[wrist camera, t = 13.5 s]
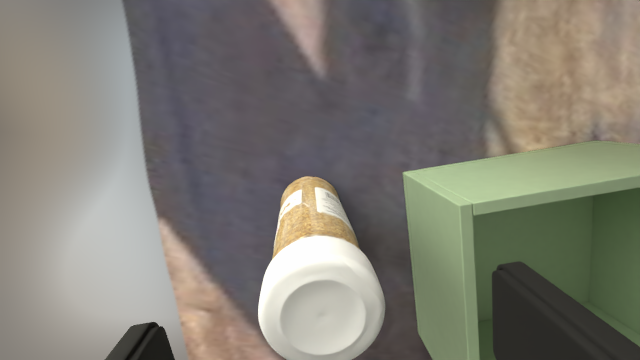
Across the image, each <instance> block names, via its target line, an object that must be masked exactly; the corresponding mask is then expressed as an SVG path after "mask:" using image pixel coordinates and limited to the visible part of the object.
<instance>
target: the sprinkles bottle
mask: <svg viewBox="0 0 640 360" xmlns="http://www.w3.org/2000/svg"><path fill="white" fill-rule="evenodd" d="M384 314H385V300H384V295H383V292H382V289H381V286H380V283H379V281H378V278H377V276H376V273H375V271H374V269H373V267H372V265H371V263H370V261H369V260H368V258H367V257H366V256H365V254H364V253H363V252H362V251H361V250H360V248H359V246H358V242H357V239H356V236H355V234H354V231H353V229H352V227H351V225H350V222H349V220H348V218H347V216H346V213H345V211H344V209H343V207H342V205H341V203H340V201H339V197H338V194H337V192H336V190H335V189H334V187H333V186H332V185H331V184H329V183H328V182H327V181H325V180H323V179H320V178H318V177H303V178H300V179H298V180H296V181H294V182H293V183H292V184H290V185H289V186H288V187H287V188H286V190H285V192H284V194H283V196H282V199H281V210H280V214H279V220H278V227H277V232H276V238H275V243H274V254H273V260H272V261H271V263H270V264H269V266H268V268H267V270H266V273H265V275H264V279H263V284H262V288H261V293H260V299H259V307H258V318H259V323H260V328H261V330H262V332H263V335H264V337H265V338H266V340H267V342H268V343H269V345H270V346H271V347H272V348H273V349H274V350H275V351H276V352H277V353H278V354H279V355H281V356H282V357H284V358H285V359H287V360H352V359H354V358H355V357H357V356H358V355H360V354H361V353H363V352H364V351H365V350H366V349H367V348H368V347H369V346H370V345H371V344H372V343H373V341H374V340H375V338H376V337H377V335H378V333H379V331H380V329H381V327H382V324H383V320H384Z"/></svg>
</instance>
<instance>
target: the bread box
mask: <svg viewBox="0 0 640 360" xmlns="http://www.w3.org/2000/svg"><path fill="white" fill-rule="evenodd" d="M403 181H404V192H405V202H406V212H407V223H408V233H409V243H410V253H411V264H412V274H413V284H414V294H415V305H416V315H417V325H418V333H419V335H420V337H421V339H422V341H423V343H424V344H425V346H426V348H427V350H428V352H429V354H430V356H431V358H432V359H433V360H496V358H495V355H494V352H493V319H492V273H493V271H496V269H497V266H498V265H500V264H505V263H511V262H517V261H520V262H523V263H525V264H526V265H527V266H529V267H530V268H532V269H533V270H534V271H536V272H537V273H538V274H540V275H541V276H543V277H544V278H545V279H547V280H548V281H550V282H551V283H552V284H554V285H555V286H556V287H558V288H559V289H561V290H562V291H563V292H565V293H566V294H567V295H569V296H570V297H572V298H573V299H574V300H576V301H577V302H579V303H580V304H581V305H583V306H584V307H585V308H587V309H588V310H590V311H591V312H592V313H594V314H595V315H597V316H598V317H599V318H601V319H602V320H603V321H605V322H606V323H608V324H609V325H610V326H612V327H613V328H614V329H616V330H617V331H619V332H620V333H621V334H623V335H624V336H626V337H627V338H628V339H630V340H631V341H632V342H634V343H635V344H637V345H638V346H639V347H640V144H632V143H621V142H610V141H598V140H595V141H588V142H582V143H576V144H570V145H564V146H558V147H552V148H546V149H540V150H534V151H528V152H522V153H516V154H510V155H504V156H498V157H492V158H486V159H480V160H474V161H468V162H462V163H456V164H450V165H444V166H438V167H431V168H425V169H419V170H413V171H407V172H403Z"/></svg>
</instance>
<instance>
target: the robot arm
mask: <svg viewBox="0 0 640 360" xmlns="http://www.w3.org/2000/svg"><path fill="white" fill-rule="evenodd" d="M492 319H493V352H494V355H495V358H496V360H640V347H639V346H638V345H637V344H635V343H634V342H632V341H631V340H630V339H628V338H627V337H626V336H624V335H623V334H621V333H620V332H619V331H617V330H616V329H614V328H613V327H612V326H610V325H609V324H608V323H606V322H605V321H603V320H602V319H601V318H599V317H598V316H597V315H595V314H594V313H592V312H591V311H590V310H588V309H587V308H585V307H584V306H583V305H581V304H580V303H579V302H577V301H576V300H574V299H573V298H572V297H570V296H569V295H567V294H566V293H565V292H563V291H562V290H561V289H559V288H558V287H556V286H555V285H554V284H552V283H551V282H550V281H548V280H547V279H545V278H544V277H543V276H541V275H540V274H538V273H537V272H536V271H534V270H533V269H532V268H530V267H529V266H527V265H526V264H525V263H523V262H520V261H517V262H511V263H505V264H500V265H498V266H497V269H496V271H493V273H492ZM105 360H175V359H174V356H173V353H172V350H171V347H170V344H169V341H168V338H167V335H166V332H165V329H164V328H163V327H161V326H160V327H159V325H158V324H157V323H155V322H151V323H145V324H139V325H134V326H131V327H130V328H129V329H128V331H127V332H126V333H125V335H124V336H123V337H122V338H121V340H120V341H119V342H118V344H117V345H116V346H115V347H114V349H113V350H112V351H111V353H110V354H109V355H108V356H107V358H106V359H105Z"/></svg>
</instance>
